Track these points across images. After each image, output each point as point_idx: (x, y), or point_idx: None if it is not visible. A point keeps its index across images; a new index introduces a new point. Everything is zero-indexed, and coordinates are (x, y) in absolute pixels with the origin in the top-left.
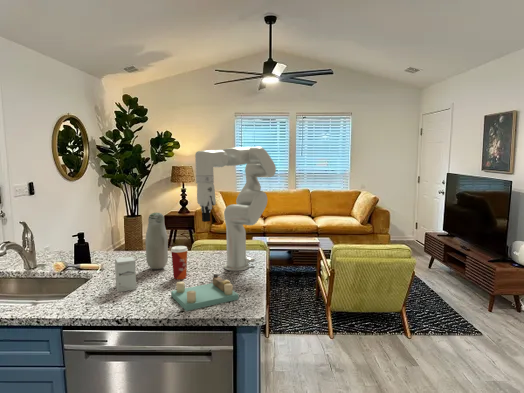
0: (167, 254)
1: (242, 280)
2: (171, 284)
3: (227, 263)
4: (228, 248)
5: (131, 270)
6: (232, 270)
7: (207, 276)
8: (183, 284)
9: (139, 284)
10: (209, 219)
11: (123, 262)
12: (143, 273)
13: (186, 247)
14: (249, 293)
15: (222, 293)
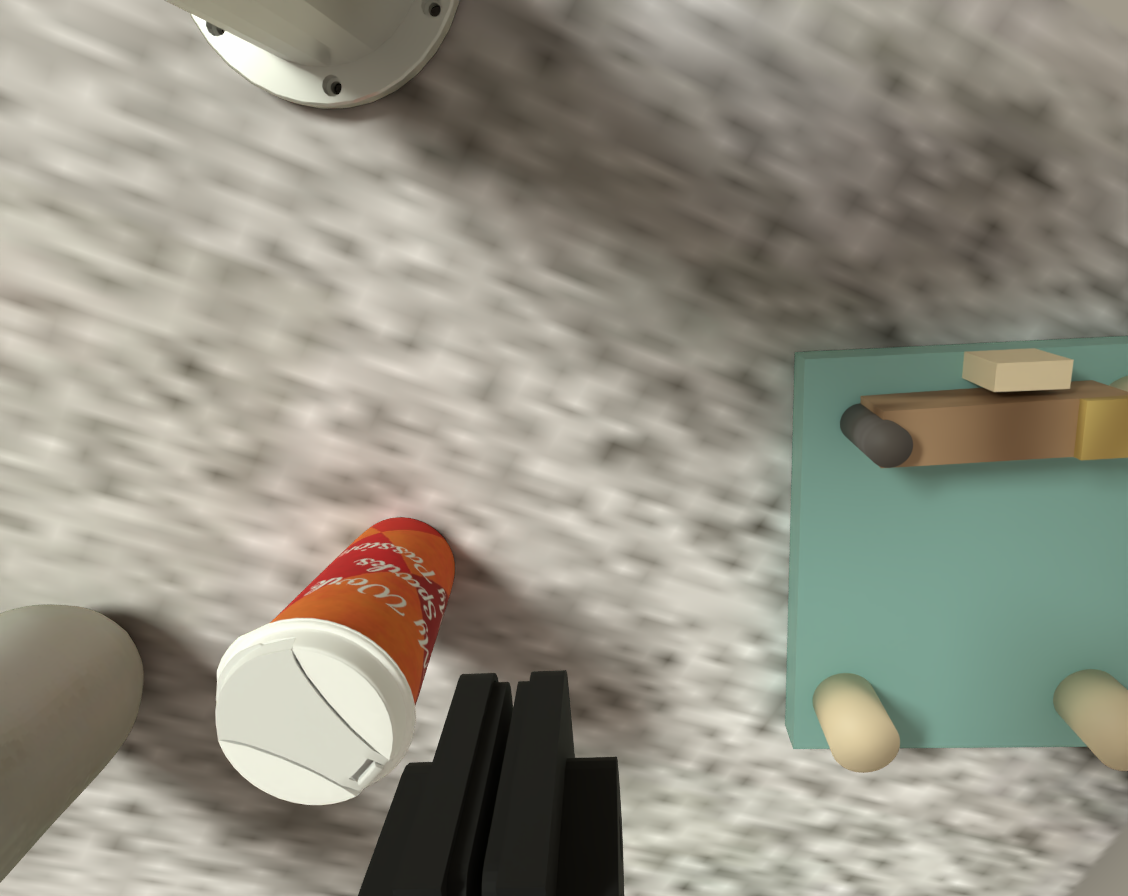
0: (18, 649)
1: (761, 87)
2: (543, 662)
3: (304, 59)
4: (247, 3)
5: None
6: (433, 55)
7: (481, 352)
8: (894, 726)
9: None
10: (563, 714)
11: None
12: (186, 763)
13: (334, 660)
14: (1117, 187)
15: None
